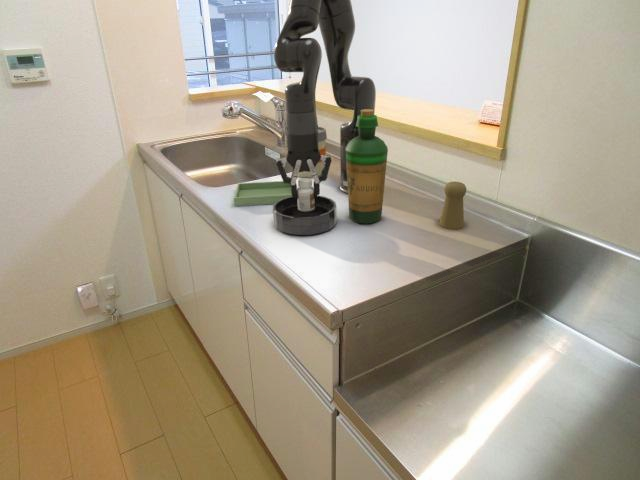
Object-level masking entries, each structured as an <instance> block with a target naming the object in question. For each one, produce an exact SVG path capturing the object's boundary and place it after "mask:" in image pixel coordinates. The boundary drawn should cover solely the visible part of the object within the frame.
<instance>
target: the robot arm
mask: <svg viewBox="0 0 640 480" xmlns="http://www.w3.org/2000/svg"><path fill="white" fill-rule="evenodd" d="M352 4H353V3H352V1H351V0H289V3H288V11H287V16H286V19H285V21H284V23H283V25H282V28H281V30H280V33H279V35H278V37H277V39H276V42H275V44H274V48H273V61H274V64H275V66H276V68H277V69H278V70H279V71H280V72H283V73H302V74H303V75H302V77H301V80H300V81H298V82H293V83H289V84H287V85H286V86H285V88H284V104H285V133H286V148H287V153H286V155H285V156H284V157H282V158H280V157H278V158H276V160H275V165H276V166H277V169H278V171H279V174H280V177H281V180H282V181H283V182H284V183H289V184H290V185H291V193H292V197H295V199H297V189H298V186H297V185H298V183H297V181H298V180H297V179H298V177H299V176H298V173H299V172H303V171H307V172H311V174H312V176H313V177H312V178H313V181H312V184H313V188H314V197H317V195H318V196H320V194H321V187H320V183H321V182H323V181H324V182H325V181H327V178H328V176H329V173H330V172H329V171H330V169H331V168H330V167H331V164H332V157H331V156H330V155H329V154H327V155H325V156H324V155H321V154H320V152H319V147H318V127H319V123H318V116H317V103H316V102H317V100H316V89H317V82H318V78H319V77H318V76H319V72H320V69H321V64H322V59H323V58H322V57H323V53H322V52H323V51H322V48H321V44H320V43H319V42H318V40H317V39H315V38H314V37H304V36H306V35H307V36H308V35H309V34H312V33H314V32H316V31H317V29H318V27H319V31H320V35H321V38H322V41H323V45H324V50H325V55H326V59H327V64H328V69H329V75H330V81H331V82H330V83H331V88H332V89H331V90H332V94H333V98H334V101H335V104H336V106H337V107H339V108H340V109H342V110H346V111H353V115H352V119H351V120H349V121H346V122H343V123H342V124H340V129H339V132H340V133H339V136H340V137H339V138H340V140H339V143H340V144H339V145H340V146H339V147H340V148H339V150H340V153H339V154H340V155H339V156H340V158H339V159H340V189H339V190H340V191H341V192H343V193H344V194H348V185H347V167H346V146H347V145H348V143H349V142H350V141H351V140H352V139H354V138H355V137H357V136H359V131H358V127H357V126H356V122H357V117H358V115H361V110H364V109H372V110H374V114H373V115H375V114H376V113H375V112H376V99H377V98H376V97H377V89H376V85H375V82H374V80H373V79H372V78H370V77H366V76H355V75H352V72H351V70H350V65H349V52H350V49H351V46H352V43H353V40H354V36H355V34H356V33H355V32H356V20H355V15H354V11H353V5H352ZM320 159H321V160H322V164H323V169H322V173H321V175H319V176H318V175H317V172H316V169H315V166H316V165H317V163H318V162H319V160H320ZM287 163H288V164H289V165H290V166H291V168H292V171H291V176H288V174H287V172H286V167H287Z"/></svg>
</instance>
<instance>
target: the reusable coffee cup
mask: <svg viewBox="0 0 640 480" xmlns="http://www.w3.org/2000/svg"><path fill="white" fill-rule="evenodd" d="M327 138H328V137H327V130H326V128H325V127H322V126H318V147H319V152H320V154H321V155H324V156H326V152H327V146H326V140H327ZM315 169H316V172H317V175H318V176H319V175H321V173H322V169H323V164H322V160H321V159H320V160H319V162H318V163H317V165H316V166H315ZM298 177H300V178H309V179H311V178H313V176H312V174H311V172H307V171H303V172H299V173H298Z"/></svg>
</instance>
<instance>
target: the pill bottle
mask: <svg viewBox="0 0 640 480" xmlns="http://www.w3.org/2000/svg"><path fill="white" fill-rule="evenodd" d="M297 185H298V186H297V201H298V209H299V210H300V211H303V212H308V211H312V210H314V209H315V199H314V186H313V181H312V179H311V178H306V177H302V178H300V179H298V180H297Z"/></svg>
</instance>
